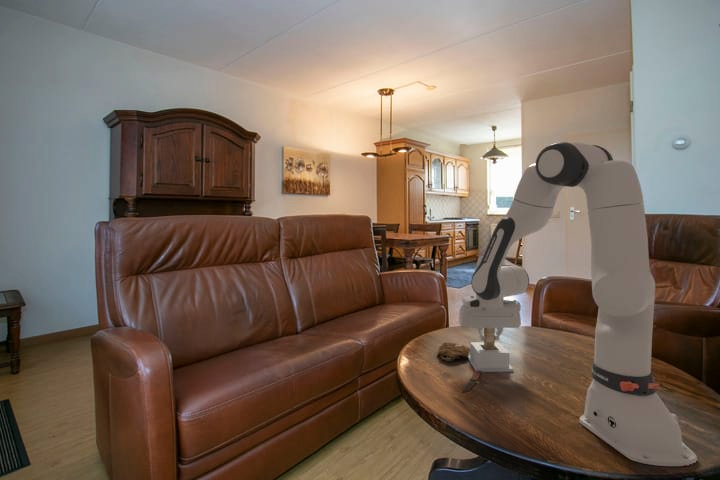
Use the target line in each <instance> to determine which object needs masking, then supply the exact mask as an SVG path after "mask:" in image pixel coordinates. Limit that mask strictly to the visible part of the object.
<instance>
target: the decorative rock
mask: <svg viewBox="0 0 720 480" xmlns="http://www.w3.org/2000/svg"><path fill="white" fill-rule="evenodd" d="M436 354H438V355H439V356H440V358H441V360H442V361H443V360H445V361H444V362H447V361H449V362H450V363H451V362H455V361H454V360H457V359H460V358H462V357H466V358H467V355H469V354H470V347H467V346H465V345H463V344H459V343H455V342H443V343H442V345H440V346H439V348H438V350H437V353H436Z"/></svg>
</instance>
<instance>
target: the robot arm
mask: <svg viewBox="0 0 720 480" xmlns="http://www.w3.org/2000/svg"><path fill="white" fill-rule="evenodd" d="M566 187H570V188H574V187H579V188H581V189H582V190H583V192H584V193H585V197H586V205H587V207H586V208H587V215H588V224H589V233H590V243H591V244H590V245H591V246H590V249H591V251H590V254H591V255H590V263H591V265H590V270H591V272H590V273H591V274H590V275H591V289H592V290H591V291H592V293H591V294H592V298H593V300H594V303H595V304H596V305H597V307H598V311H597V320H596V325H595V331H594V336H595V337H594V357H593V358H594V360H593V361H592V364H591V365H592V366H591V378H592V381H591V383H590V385H589V387H588V388H587V390H586V396H585V403H584V411H583V414H582V415H581V416H580V417H579V421H578V422H579V424H581V425H582V426H583V427H585V428H586V429H588V430H589V431H590V432H592V433H593V434H595V435H596V436H597V437H599V438H600V439H601V440H602V441H603V442H605V443H607V444H608V445H610V446H611V447H613V448H614V449H615V450H617V451H618V452H619V453H620V454H622V455H623V456H625V457H626V458H628V459H629V460H631V461H633V462H637V463H640V464H644V465H645V464H646V465H649V466H652V465H653V466H661V467H683V466H685V465H686V466H691V465H694V464H695V463H697V462H698V456H697V454H696V453H695V452H694V451H692V450H691V448H690V447H688V446H687V445H686V444H685V443H684V442H683V438H682V436H683V435H682V430H681V426H680V424H679V419H678V417H677V415H676V414H675V413H671V412H670V411H669V409H668V407H667V406H666V405H665V403H664V402H663V400H662V399H661V398H660V396H659V395H658V393H657V389H660V387H659V386H660V383H657V382H656V381H655V377H654V374H653V372H652V371H651V370H652V369H651V368H652V345H653V344H652V341H653V340H652V339H653V330H654V329H653V328H654V327H653V326H654V315H655V314H654V312H655V300H656V299H655V298H656V281H655V279H654V276H653V275H652V273H651V271H650V269H651V268H650V258H649V257H650V255H649V238H648V228H647V227H648V226H647V220H646V213H645V202H644V196H643V190H642V186H641V182H640V180H639V177H638V173H637V171H636V169H635V167H634V166H633V164H631V163H630V162H627V161H625V160H619V159H615V160H614V159H613V155H612V154H611V153H610V151H608V150H607V149H605V148H604V147H602V146H599V145H595V144H587V143H584V142H577V141H575V142H572V141H571V142H566V141H559V142H556V143H552V144H549V145H547V146H545V147H544V148H543V149H542V150H540V152H539V154H538V155H537V157H536V159H535V163H532V164H530V165H529V166H527V167H526V168H525V170H524V172H523V174H522V176H521V178H520V180H519V182H518V185H517V186H516V189H515V192H514V193H515V194H514V196H513V199H512V202H511V205H510V207H509V209H508V210H507V212H506V213H505V214H504V216H503V217H502V219H500V221H499V222H498V223H497V225H495V226H496V227H495V229H494V230H493V233H492V234H491V237H490V239H489V241H488V244H487V246H486V248H485V251H484V253H482V254H481V255H479V256H478V259H477V262H476V269H475V270H474V272H473V274H472V277H471V281H470V282H471V284H470V285H471V288H472V290H473V292H474V293H473V294H470V295H467V296H464V297H462V299H461V302H462V305H461V306H460V308H459V313H458V314H459V315H458V324H459V325H460V327H461V328H463V329H476V331H477V333H478V335H479V336H478V337H479V338H478V339H479V340H480V341H481V342H482V341H484V340H485V335H484V333H482V331H483V329H484V328H495V329H496V330H497V331H496V333H495V341H500V336H501V335H502V333H503V331H504V329H510V328H511V329H517V328H520V327H521V325H522V321H521V303H520V302H519V301H517V300H516V299H512V300H511V299H505V297H513V296H519V295H522V294H525V293H526V291H527V290H528V288H529V285H530V277H529V276H530V275H529V274H528V272H527V271H526V269H525V268H524V267H523V266H520V265H517V264H514V263H513V262H511V261H509V260H508V259H506V258H507V256H508V253H509V250H510V249H511V247H512V246H513V245H514V244H515V243H516V242H518V241H520V240H521V239H523V238H524V237H527V236H529V235H531V234H535V233H536V232H539V231H541V230H542V229H543V228H544V227H546V225H547V224H548V223H549V220H550V219H551V217H552V214H553V212H554V208H555V205H556V202H557V199H558V196H559V195H560V194H559V193H560V192H561V190H563V189H564V188H566ZM696 461H697V462H696ZM693 463H694V464H693ZM690 464H691V465H690ZM686 466H685V467H686Z"/></svg>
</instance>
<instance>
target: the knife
mask: <svg viewBox="0 0 720 480" xmlns="http://www.w3.org/2000/svg"><path fill="white" fill-rule="evenodd" d="M481 375H483V372H482V371H476V370H475V372H474V373H473V374H472V376H471V377H470V379H469V382H468V383H467V384H466V386H465V387H464V388H463V390H462V392H461V393H466V392H469V391H471V389H472V388H473V387H474V386H475V385H476V384H480V382H479V381H478V380H479V379H480V376H481Z"/></svg>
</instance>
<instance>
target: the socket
mask: <svg viewBox="0 0 720 480" xmlns="http://www.w3.org/2000/svg"><path fill="white" fill-rule="evenodd" d="M469 346H470V347H469V348H470V352H469V354H468V355H467V357H466V359H467V361H469V364H471V366H472V367H473V369H474V370H475V372H476V371H482V373H483V372H485V373H487V372H488V373H495V372H496V373H500V372H501V373H502V372H503V373H504V372H505V373H508V372H509V373H513V372H514V367H512V366H511V365H510V352H509V351H508V350H507V349H506V348H505V347H504V346H503V345H502V344H501V343H500V341H499V342H498V341H495V344H494V350H484V341H483V342H482V341H481V342H480V341H479V342H476V341H474V342H473V341H472V342H470V345H469Z"/></svg>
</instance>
